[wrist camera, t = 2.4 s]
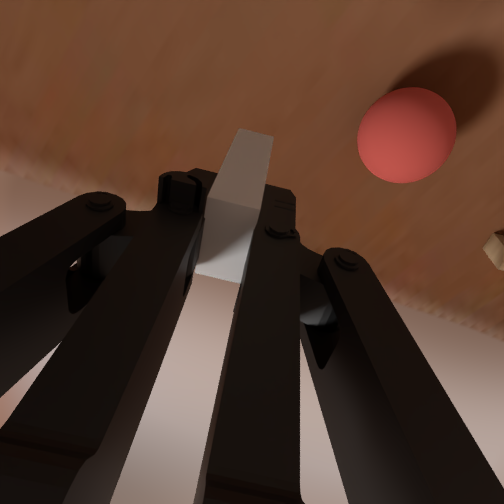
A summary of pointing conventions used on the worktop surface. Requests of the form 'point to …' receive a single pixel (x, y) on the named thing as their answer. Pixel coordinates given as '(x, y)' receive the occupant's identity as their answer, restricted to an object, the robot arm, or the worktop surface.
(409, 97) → the ball
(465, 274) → the worktop surface
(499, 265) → the wooden angle block
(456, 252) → the worktop surface
